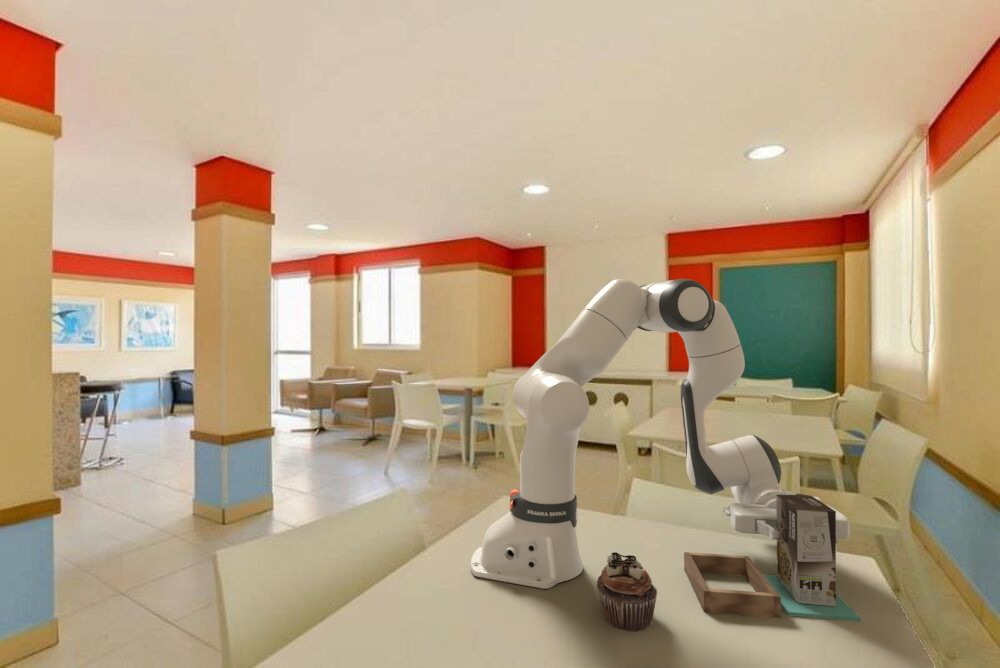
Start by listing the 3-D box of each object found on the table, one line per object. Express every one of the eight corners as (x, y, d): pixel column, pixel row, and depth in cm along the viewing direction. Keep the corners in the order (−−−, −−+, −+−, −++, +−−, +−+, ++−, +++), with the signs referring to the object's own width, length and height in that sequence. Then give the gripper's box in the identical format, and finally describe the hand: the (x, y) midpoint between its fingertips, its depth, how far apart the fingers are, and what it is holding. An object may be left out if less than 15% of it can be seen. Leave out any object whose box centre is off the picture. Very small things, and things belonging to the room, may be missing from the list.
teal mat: (787, 615, 81) (787, 611, 81) (758, 577, 94) (758, 574, 94) (860, 621, 79) (860, 617, 79) (820, 581, 92) (820, 578, 92)
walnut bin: (703, 611, 82) (703, 590, 82) (684, 569, 97) (684, 552, 97) (780, 618, 80) (780, 596, 80) (748, 574, 95) (748, 556, 95)
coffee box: (838, 607, 82) (837, 511, 82) (796, 604, 83) (796, 509, 83) (812, 580, 91) (812, 494, 91) (775, 578, 92) (775, 492, 92)
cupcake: (663, 637, 75) (662, 571, 75) (599, 632, 76) (599, 568, 76) (651, 603, 84) (651, 545, 85) (594, 599, 86) (594, 542, 86)
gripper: (720, 492, 102) (742, 516, 88) (826, 497, 99) (867, 522, 85) (720, 522, 102) (743, 551, 88) (826, 528, 99) (867, 559, 85)
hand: (805, 537), depth 86 cm, fingers open, 8 cm apart
